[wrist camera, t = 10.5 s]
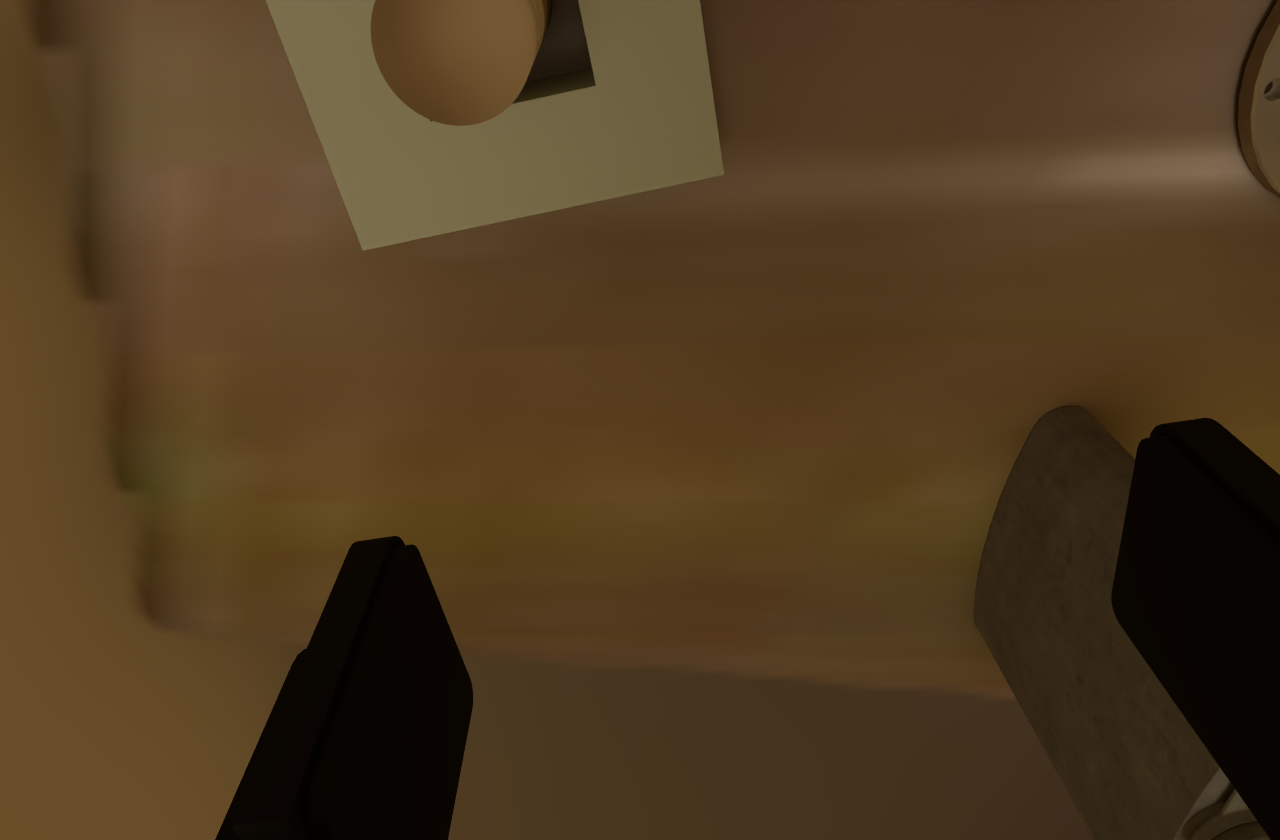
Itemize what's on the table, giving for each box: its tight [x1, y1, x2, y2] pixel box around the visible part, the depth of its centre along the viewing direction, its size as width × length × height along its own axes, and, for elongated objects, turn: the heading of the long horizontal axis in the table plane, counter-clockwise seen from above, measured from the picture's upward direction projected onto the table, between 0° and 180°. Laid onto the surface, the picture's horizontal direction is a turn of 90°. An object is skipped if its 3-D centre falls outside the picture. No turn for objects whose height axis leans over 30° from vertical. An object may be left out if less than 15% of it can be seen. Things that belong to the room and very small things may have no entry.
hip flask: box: [974, 406, 1270, 840], centre depth 37 cm, size 16×4×20 cm, turn 179°
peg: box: [371, 0, 552, 126], centre depth 26 cm, size 4×4×12 cm
